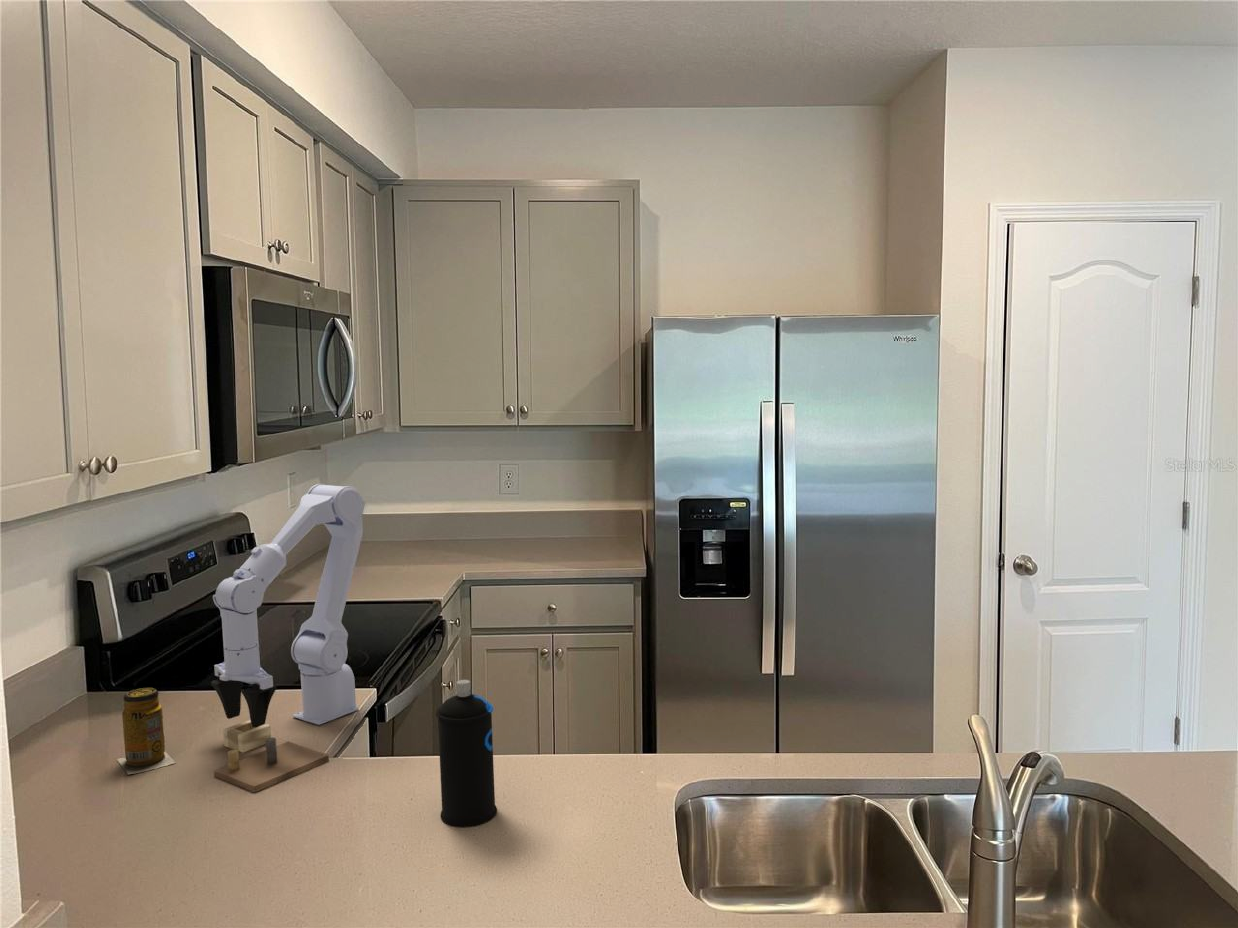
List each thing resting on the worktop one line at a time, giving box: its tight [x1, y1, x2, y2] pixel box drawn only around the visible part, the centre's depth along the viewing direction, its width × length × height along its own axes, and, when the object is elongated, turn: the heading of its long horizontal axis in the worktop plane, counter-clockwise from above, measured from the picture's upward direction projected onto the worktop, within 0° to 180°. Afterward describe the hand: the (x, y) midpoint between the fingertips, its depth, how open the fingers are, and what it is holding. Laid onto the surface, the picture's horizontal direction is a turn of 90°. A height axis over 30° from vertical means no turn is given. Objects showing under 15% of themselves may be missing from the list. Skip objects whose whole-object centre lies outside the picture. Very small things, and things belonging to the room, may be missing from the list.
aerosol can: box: [435, 679, 498, 828], centre depth 137 cm, size 8×8×20 cm
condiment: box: [116, 687, 176, 775], centre depth 158 cm, size 7×8×12 cm
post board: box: [213, 736, 330, 794], centre depth 155 cm, size 14×11×5 cm
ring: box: [222, 719, 272, 754], centre depth 166 cm, size 6×6×3 cm
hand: (245, 721), depth 165 cm, fingers open, 7 cm apart
